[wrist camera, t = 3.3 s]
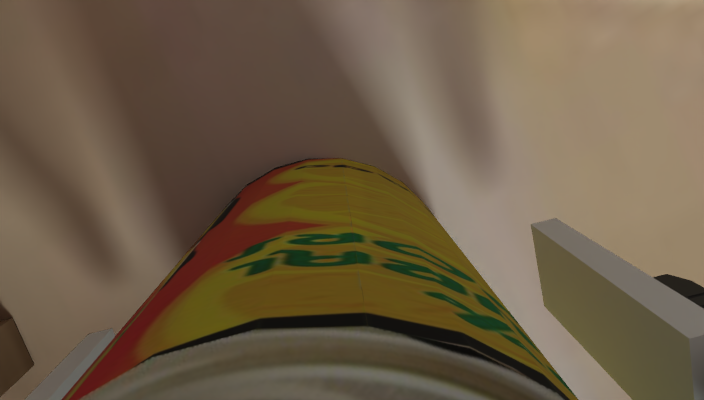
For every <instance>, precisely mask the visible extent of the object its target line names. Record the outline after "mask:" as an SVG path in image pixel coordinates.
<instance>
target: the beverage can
mask: <svg viewBox="0 0 704 400" xmlns="http://www.w3.org/2000/svg"><path fill="white" fill-rule="evenodd" d="M62 400H578V399H577V397H576V396H575V395H574V394H573V392H572V391H571V390H570V389H569V387H568V386H567V385H566V383H565V382H564V381H563V380H562V378H561V377H560V376H559V375H558V373H557V372H556V371H555V369H554V368H553V367H552V366H551V364H550V363H549V362H548V361H547V359H546V358H545V357H544V355H543V354H542V353H541V352H540V350H539V349H538V348H537V347H536V345H535V344H534V343H533V341H532V340H531V339H530V338H529V336H528V335H527V334H526V333H525V331H524V330H523V329H522V327H521V326H520V325H519V324H518V322H517V321H516V320H515V319H514V317H513V316H512V315H511V313H510V312H509V311H508V310H507V308H506V307H505V306H504V305H503V303H502V302H501V301H500V299H499V298H498V297H497V296H496V294H495V293H494V292H493V291H492V289H491V288H490V287H489V285H488V284H487V283H486V282H485V280H484V279H483V278H482V277H481V275H480V274H479V273H478V271H477V270H476V269H475V268H474V266H473V265H472V264H471V263H470V261H469V260H468V259H467V257H466V256H465V255H464V254H463V252H462V251H461V250H460V249H459V247H458V246H457V245H456V243H455V242H454V241H453V240H452V238H451V237H450V236H449V235H448V233H447V232H446V231H445V229H444V228H443V227H442V226H441V224H440V223H439V222H438V221H437V219H436V218H435V217H434V215H433V214H432V213H431V212H430V210H429V209H428V208H427V207H426V205H425V204H424V203H423V202H422V201H421V200H420V199H419V198H418V197H417V196H416V195H415V194H414V193H413V192H412V191H411V190H410V189H409V188H408V187H407V186H406V185H405V184H404V183H403V182H401V181H399V180H397V179H395V178H394V177H392V176H390V175H388V174H387V173H385V172H383V171H381V170H379V169H378V168H376V167H374V166H370V165H366V164H362V163H358V162H354V161H350V160H346V159H342V158H329V159H305V160H302V161H298V162H295V163H291V164H287V165H284V166H280V167H277V168H274V169H273V170H271V171H269V172H268V173H266V174H264V175H263V176H261V177H259V178H258V179H256V180H254V181H253V182H251V183H249V184H248V185H246V186H245V188H244V189H243V190H242V191H241V192H240V193H239V194H238V195H237V196H236V197H235V198H234V199H233V200H232V201H231V202H230V203H229V204H228V205H227V206H226V207H225V208H224V210H223V211H222V212H221V213H220V214H219V216H218V217H217V218H216V219H215V220H214V221H213V223H212V224H211V225H210V226H209V227H208V228H207V230H206V231H205V232H204V233H203V234H202V235H201V237H200V238H199V239H198V240H197V241H196V242H195V244H194V245H193V246H192V247H191V248H190V250H189V251H188V252H187V253H186V254H185V255H184V257H183V258H182V259H181V260H180V261H179V262H178V264H177V265H176V266H175V267H174V268H173V269H172V271H171V272H170V273H169V274H168V275H167V276H166V278H165V279H164V280H163V281H162V282H161V283H160V285H159V286H158V287H157V288H156V289H155V291H154V292H153V293H152V294H151V295H150V296H149V298H148V299H147V300H146V301H145V302H144V303H143V305H142V306H141V307H140V308H139V309H138V310H137V312H136V313H135V314H134V315H133V316H132V317H131V319H130V320H129V321H128V322H127V323H126V325H125V326H124V327H123V328H122V329H121V330H120V332H119V333H118V334H117V335H116V336H115V337H114V339H113V340H112V341H111V342H110V343H109V344H108V346H107V347H106V348H105V349H104V350H103V351H102V353H101V354H100V355H99V356H98V357H97V359H96V360H95V361H94V362H93V363H92V364H91V366H90V367H89V368H88V369H87V370H86V371H85V373H84V374H83V375H82V376H81V377H80V378H79V380H78V381H77V382H76V383H75V384H74V385H73V387H72V388H71V389H70V390H69V391H68V393H67V394H66V395H65V396H64V397H63V398H62Z"/></svg>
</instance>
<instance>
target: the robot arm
mask: <svg viewBox="0 0 704 400" xmlns="http://www.w3.org/2000/svg"><path fill="white" fill-rule="evenodd" d="M531 229H532V235H533V241H534V247H535V253H536V259H537V265H538V271H539V277H540V283H541V289H542V295H543V301H544V306H545V307H546V308H547V309H548V310H549V311H550V312H551V313H552V315H553V316H554V317H555V318H556V319H557V320H558V321H559V322H560V323H561V324H562V325H563V326H564V327H565V328H566V329H567V330H568V332H569V333H570V334H571V335H572V336H573V337H574V338H575V339H576V340H577V341H578V342H579V343H580V344H581V345H582V346H583V347H584V349H585V350H586V351H587V352H588V353H589V354H590V355H591V356H592V357H593V358H594V359H595V360H596V361H597V362H598V363H599V364H600V366H601V367H602V368H603V369H604V370H605V371H606V372H607V373H608V374H609V375H610V376H611V377H612V378H613V379H614V380H615V381H616V383H617V384H618V385H619V386H620V387H621V388H622V389H623V390H624V391H625V392H626V393H627V394H628V395H629V396H630V397H631V398H632V399H633V400H704V288H703V287H701V286H700V285H698V284H696V283H694V282H692V281H690V280H686V279H683V278H679V277H675V276H672V275H668V274H665V275H661V276H657V277H651V276H649V275H648V274H646V273H645V272H643V271H641V270H640V269H638V268H636V267H635V266H633V265H631V264H630V263H628V262H627V261H625V260H623V259H622V258H620V257H618V256H617V255H615V254H614V253H612V252H610V251H609V250H607V249H605V248H604V247H602V246H600V245H599V244H597V243H596V242H594V241H592V240H591V239H589V238H587V237H586V236H584V235H582V234H581V233H579V232H578V231H576V230H574V229H573V228H571V227H569V226H568V225H566V224H564V223H563V222H561V221H560V220H558V219H556V218H554V219H550V220H546V221H542V222H538V223H534V224H531ZM114 337H115V334H114V332H113V329H112V328H111V329H107V330H103V331H99V332H95V333H91V334H88V335H87V336H86V337H85V338H84V339H83V340H82V341H81V342H80V343H79V344H78V345H77V346H76V347H75V348H74V349H73V350H72V351H71V352H70V354H69V355H68V356H67V357H66V358H65V359H64V360H63V361H62V362H61V363H60V364H59V365H58V366H57V367H56V368H55V369H54V370H53V371H52V372H51V373H50V374H49V375H48V376H47V377H46V378H45V379H44V380H43V381H42V382H41V383H40V384H39V385H38V386H37V387H36V388H35V389H34V391H33V392H32V393H31V394H30V395H29V396H28V397H27V398H26V399H25V400H62V398H63V397H64V396H65V395H66V394H67V393H68V391H69V390H70V389H71V388H72V387H73V385H74V384H75V383H76V382H77V381H78V380H79V378H80V377H81V376H82V375H83V374H84V373H85V371H86V370H87V369H88V368H89V367H90V366H91V364H92V363H93V362H94V361H95V360H96V359H97V357H98V356H99V355H100V354H101V353H102V351H103V350H104V349H105V348H106V347H107V346H108V344H109V343H110V342H111V341H112V340H113V339H114Z"/></svg>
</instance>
